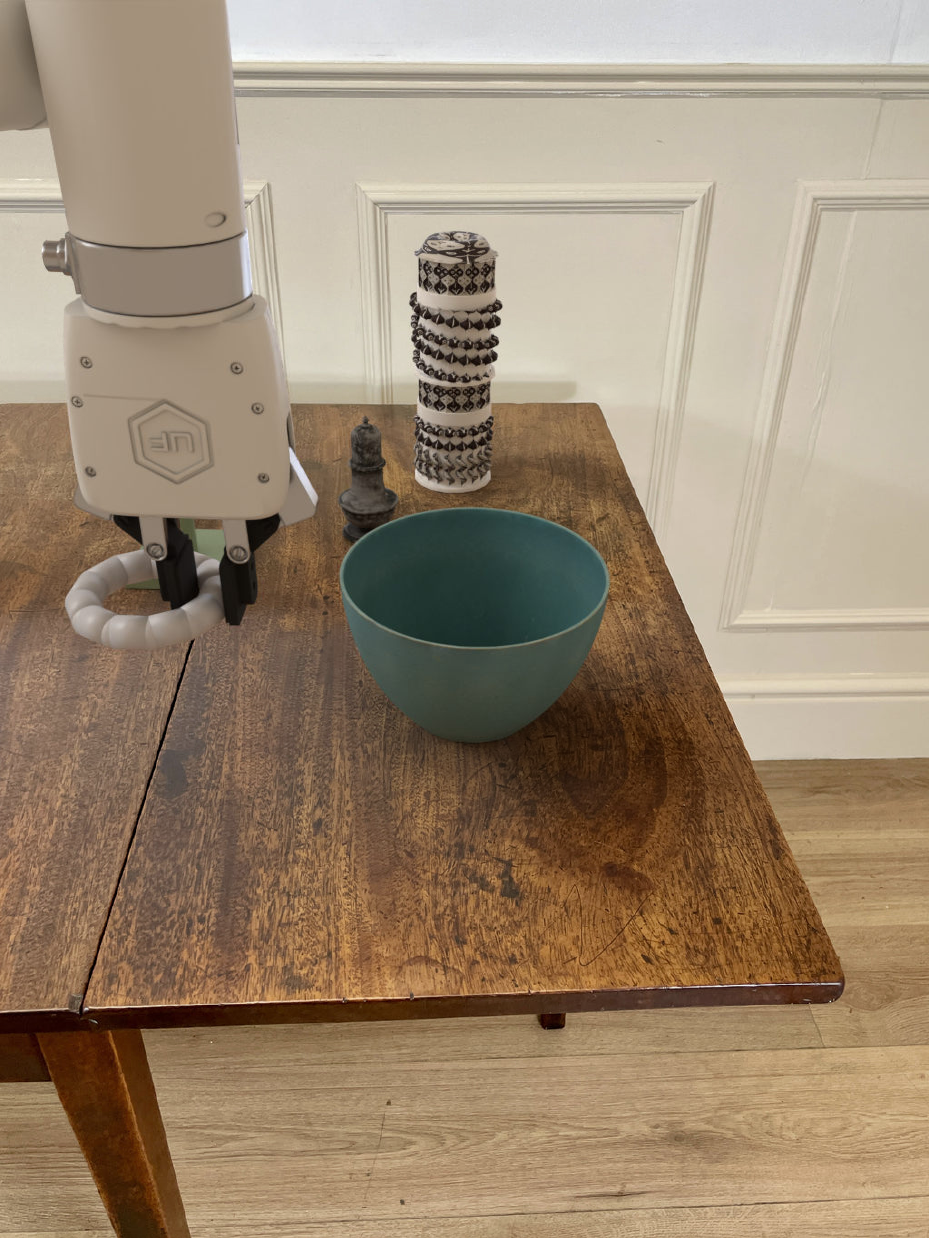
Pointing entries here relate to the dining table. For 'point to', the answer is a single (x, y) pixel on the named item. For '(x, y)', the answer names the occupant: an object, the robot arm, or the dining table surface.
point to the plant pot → (473, 616)
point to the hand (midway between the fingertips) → (212, 608)
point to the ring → (142, 629)
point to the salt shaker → (366, 485)
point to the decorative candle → (454, 360)
